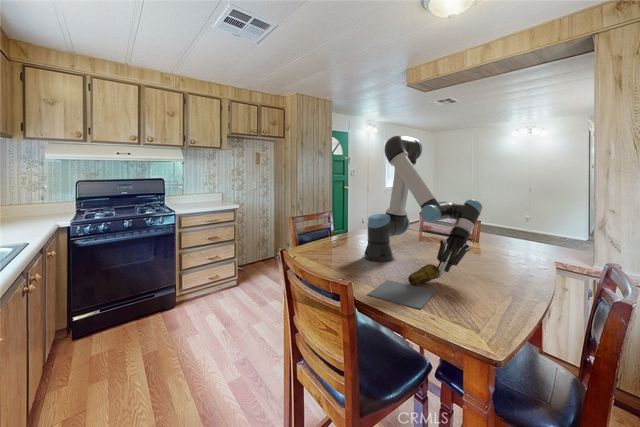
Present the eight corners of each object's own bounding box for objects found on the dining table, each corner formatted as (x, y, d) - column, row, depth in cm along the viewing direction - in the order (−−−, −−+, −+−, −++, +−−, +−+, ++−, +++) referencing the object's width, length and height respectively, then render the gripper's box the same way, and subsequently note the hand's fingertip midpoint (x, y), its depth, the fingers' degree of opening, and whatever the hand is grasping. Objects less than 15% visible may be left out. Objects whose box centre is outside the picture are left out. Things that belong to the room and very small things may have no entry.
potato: (405, 279, 122) (405, 261, 121) (436, 280, 121) (437, 262, 120) (409, 287, 114) (410, 267, 113) (442, 288, 113) (443, 268, 112)
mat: (367, 295, 107) (367, 294, 107) (387, 280, 122) (387, 279, 122) (420, 309, 95) (420, 308, 95) (436, 291, 110) (436, 290, 110)
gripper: (480, 238, 122) (458, 286, 115) (450, 233, 133) (428, 277, 127) (474, 228, 118) (451, 277, 112) (443, 224, 129) (420, 268, 123)
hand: (439, 277), depth 119 cm, fingers closed
